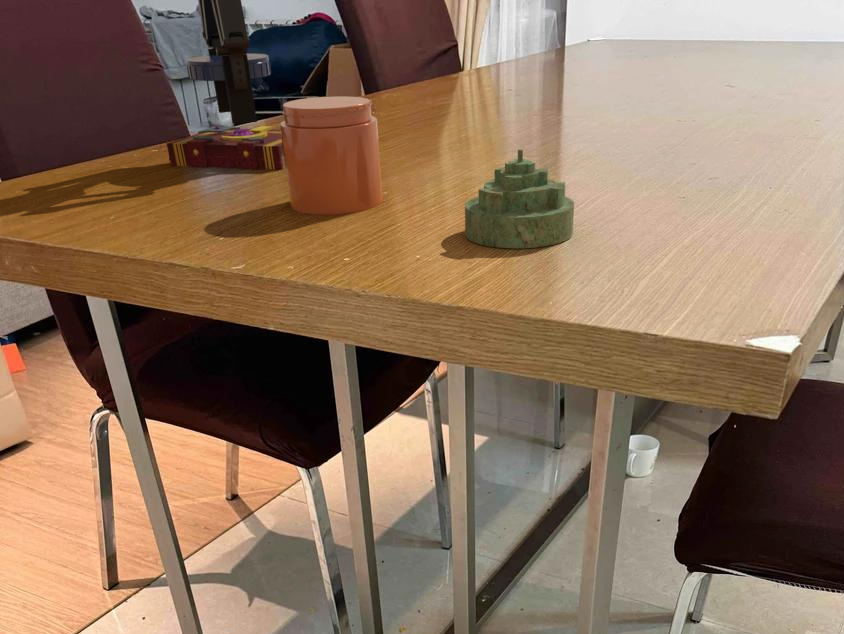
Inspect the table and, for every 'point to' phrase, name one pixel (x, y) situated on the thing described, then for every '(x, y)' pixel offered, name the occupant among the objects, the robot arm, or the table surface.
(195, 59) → the lid
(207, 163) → the decorative book
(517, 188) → the decorative artifact
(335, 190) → the jar
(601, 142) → the table surface
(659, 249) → the table surface
